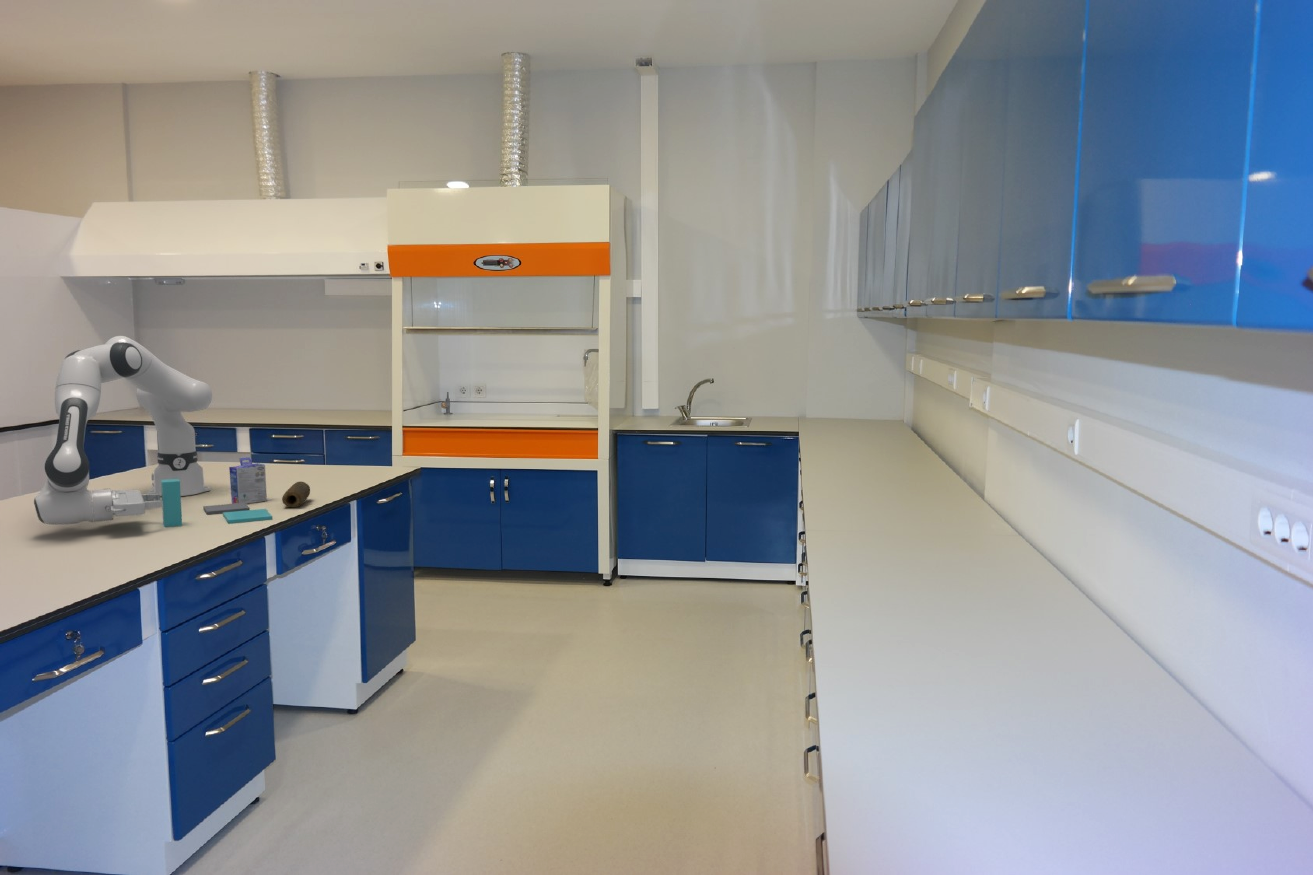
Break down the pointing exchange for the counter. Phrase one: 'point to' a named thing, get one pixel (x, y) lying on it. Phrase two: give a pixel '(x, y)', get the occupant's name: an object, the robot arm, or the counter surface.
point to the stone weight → (296, 494)
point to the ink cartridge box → (248, 482)
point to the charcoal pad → (225, 508)
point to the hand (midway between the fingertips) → (161, 500)
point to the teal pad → (247, 516)
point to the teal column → (171, 502)
